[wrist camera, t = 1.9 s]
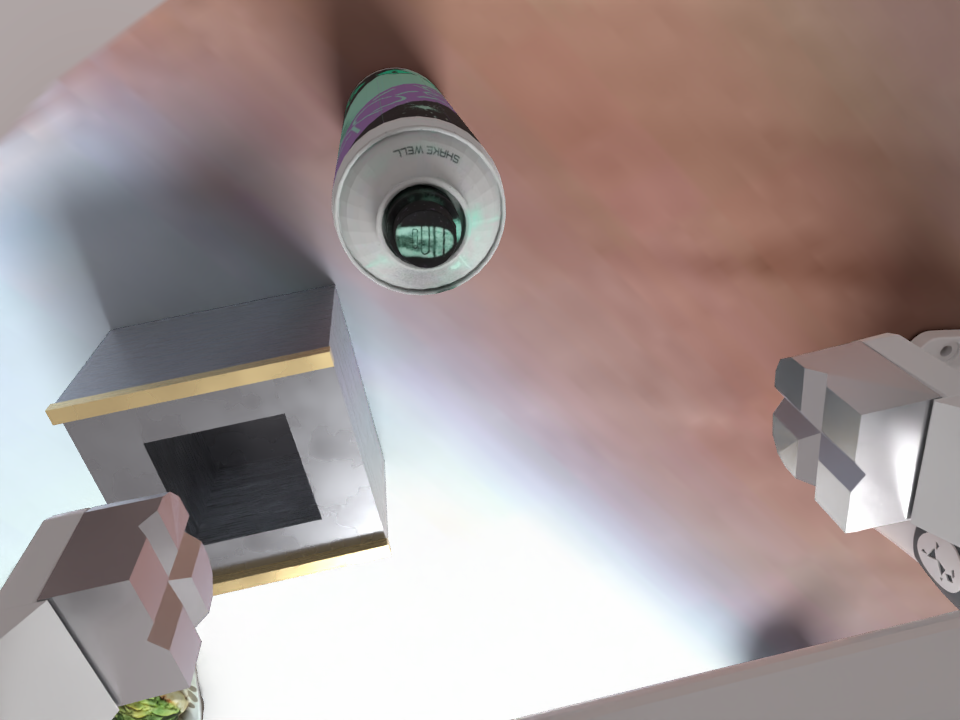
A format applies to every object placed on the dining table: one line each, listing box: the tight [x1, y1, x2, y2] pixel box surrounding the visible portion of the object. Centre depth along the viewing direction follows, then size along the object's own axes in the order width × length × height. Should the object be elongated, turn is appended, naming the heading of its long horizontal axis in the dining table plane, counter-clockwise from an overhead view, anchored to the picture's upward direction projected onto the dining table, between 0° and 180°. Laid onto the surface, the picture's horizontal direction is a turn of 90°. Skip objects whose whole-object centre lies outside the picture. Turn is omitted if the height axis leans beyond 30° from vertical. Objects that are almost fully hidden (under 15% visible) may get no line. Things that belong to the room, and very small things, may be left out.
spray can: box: [332, 68, 506, 295], centre depth 28 cm, size 6×6×20 cm
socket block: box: [45, 285, 391, 596], centre depth 39 cm, size 13×13×9 cm
